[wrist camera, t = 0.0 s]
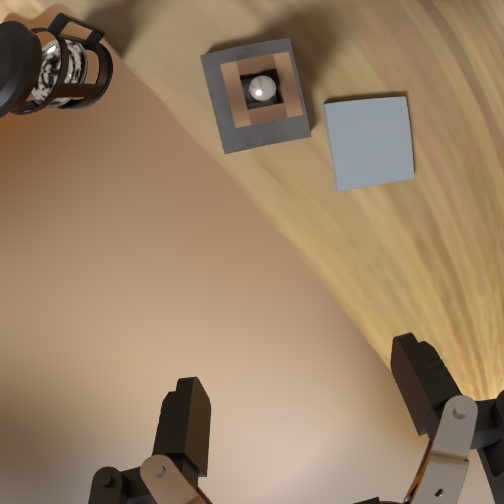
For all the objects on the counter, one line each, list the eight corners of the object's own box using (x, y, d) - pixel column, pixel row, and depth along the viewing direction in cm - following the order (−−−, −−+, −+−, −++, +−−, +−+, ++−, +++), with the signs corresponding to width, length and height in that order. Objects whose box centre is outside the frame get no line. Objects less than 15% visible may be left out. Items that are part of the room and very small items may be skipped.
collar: (223, 71, 26) (220, 64, 21) (281, 60, 25) (288, 51, 21) (236, 124, 28) (235, 128, 24) (293, 113, 28) (302, 115, 23)
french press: (82, 126, 33) (-52, 168, 13) (39, 92, 30) (-93, 112, 10) (136, 51, 30) (18, 8, 9) (88, 19, 27) (-35, -22, 6)
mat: (322, 104, 34) (324, 104, 33) (402, 96, 33) (405, 96, 32) (336, 189, 38) (338, 191, 37) (410, 176, 38) (414, 178, 37)
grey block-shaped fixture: (202, 58, 31) (181, 34, 19) (287, 41, 30) (309, 10, 18) (225, 151, 36) (217, 174, 24) (307, 135, 35) (339, 150, 24)
